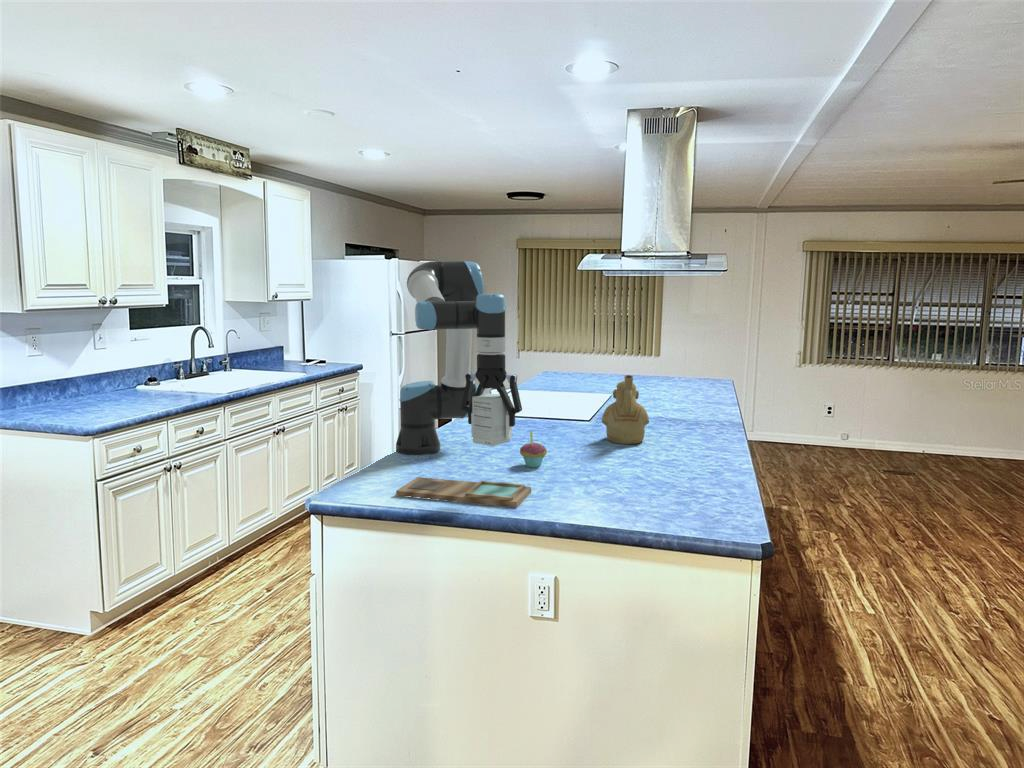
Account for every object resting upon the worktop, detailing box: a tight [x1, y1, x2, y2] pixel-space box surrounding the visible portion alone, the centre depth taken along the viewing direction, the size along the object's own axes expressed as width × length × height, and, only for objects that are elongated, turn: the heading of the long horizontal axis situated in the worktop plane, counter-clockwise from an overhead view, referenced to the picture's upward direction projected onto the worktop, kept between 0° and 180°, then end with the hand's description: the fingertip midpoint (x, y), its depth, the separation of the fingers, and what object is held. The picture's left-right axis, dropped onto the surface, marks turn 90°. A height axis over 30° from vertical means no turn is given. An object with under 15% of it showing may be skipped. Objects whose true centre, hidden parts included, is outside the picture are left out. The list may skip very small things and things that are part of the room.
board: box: [395, 476, 532, 509], centre depth 193 cm, size 34×14×2 cm, turn 73°
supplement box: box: [472, 393, 511, 447], centre depth 188 cm, size 7×7×13 cm
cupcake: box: [519, 429, 548, 468], centre depth 223 cm, size 9×8×12 cm
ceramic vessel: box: [601, 374, 650, 445], centre depth 256 cm, size 17×20×25 cm
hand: (491, 437), depth 189 cm, fingers closed on supplement box, 9 cm apart
